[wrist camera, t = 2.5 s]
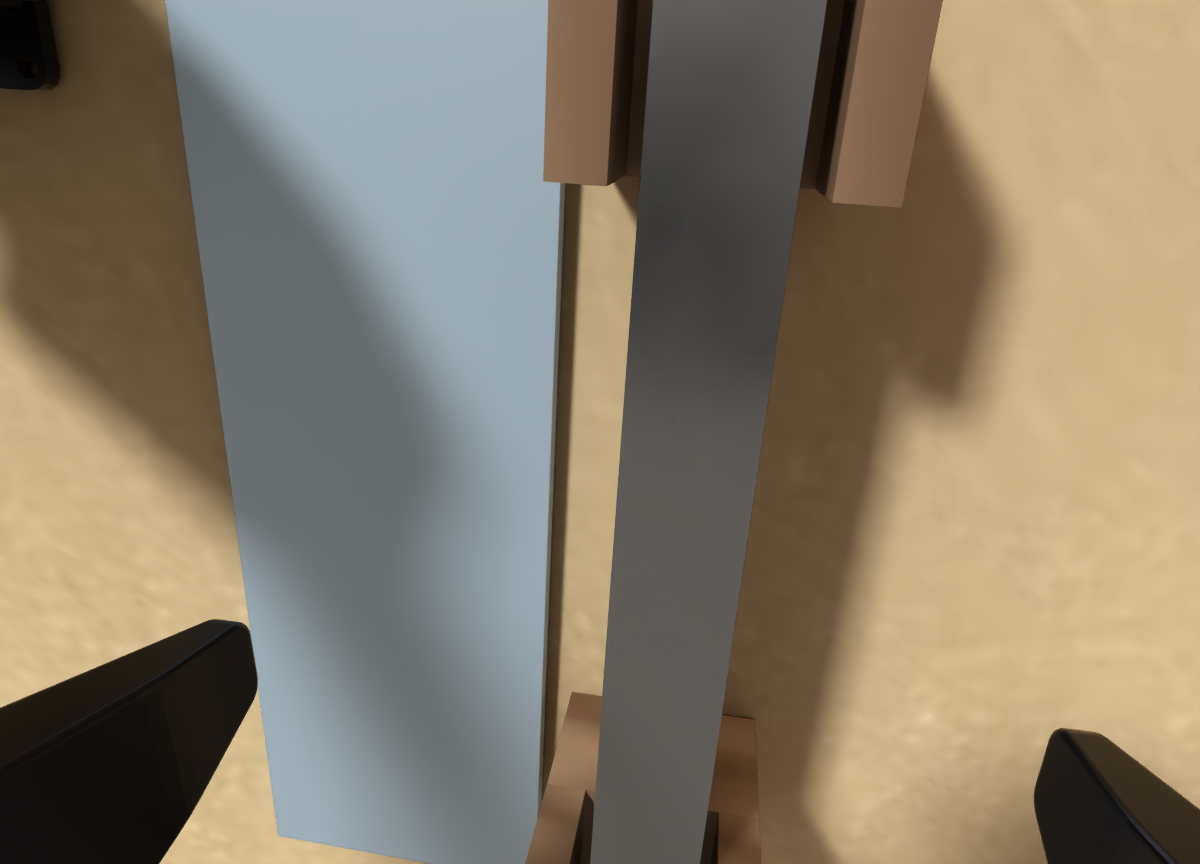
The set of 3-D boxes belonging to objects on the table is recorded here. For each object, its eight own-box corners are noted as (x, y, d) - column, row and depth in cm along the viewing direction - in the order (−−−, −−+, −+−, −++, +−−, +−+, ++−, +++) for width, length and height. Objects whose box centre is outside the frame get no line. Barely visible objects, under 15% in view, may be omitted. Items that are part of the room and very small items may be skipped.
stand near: (601, 161, 18) (543, 181, 12) (612, -43, 16) (552, -126, 11) (845, 179, 17) (901, 207, 12) (881, -32, 16) (965, -115, 10)
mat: (287, 821, 27) (278, 835, 27) (148, -259, 16) (128, -272, 15) (538, 866, 26) (534, 882, 26) (582, -256, 15) (577, -271, 14)
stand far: (566, 792, 25) (520, 983, 19) (572, 692, 23) (523, 868, 18) (737, 821, 24) (740, 1027, 19) (754, 720, 23) (762, 912, 17)
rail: (678, 955, 22) (672, 1049, 20) (592, 939, 22) (577, 1030, 20) (839, -190, 12) (865, -260, 10) (682, -192, 12) (672, -261, 10)
